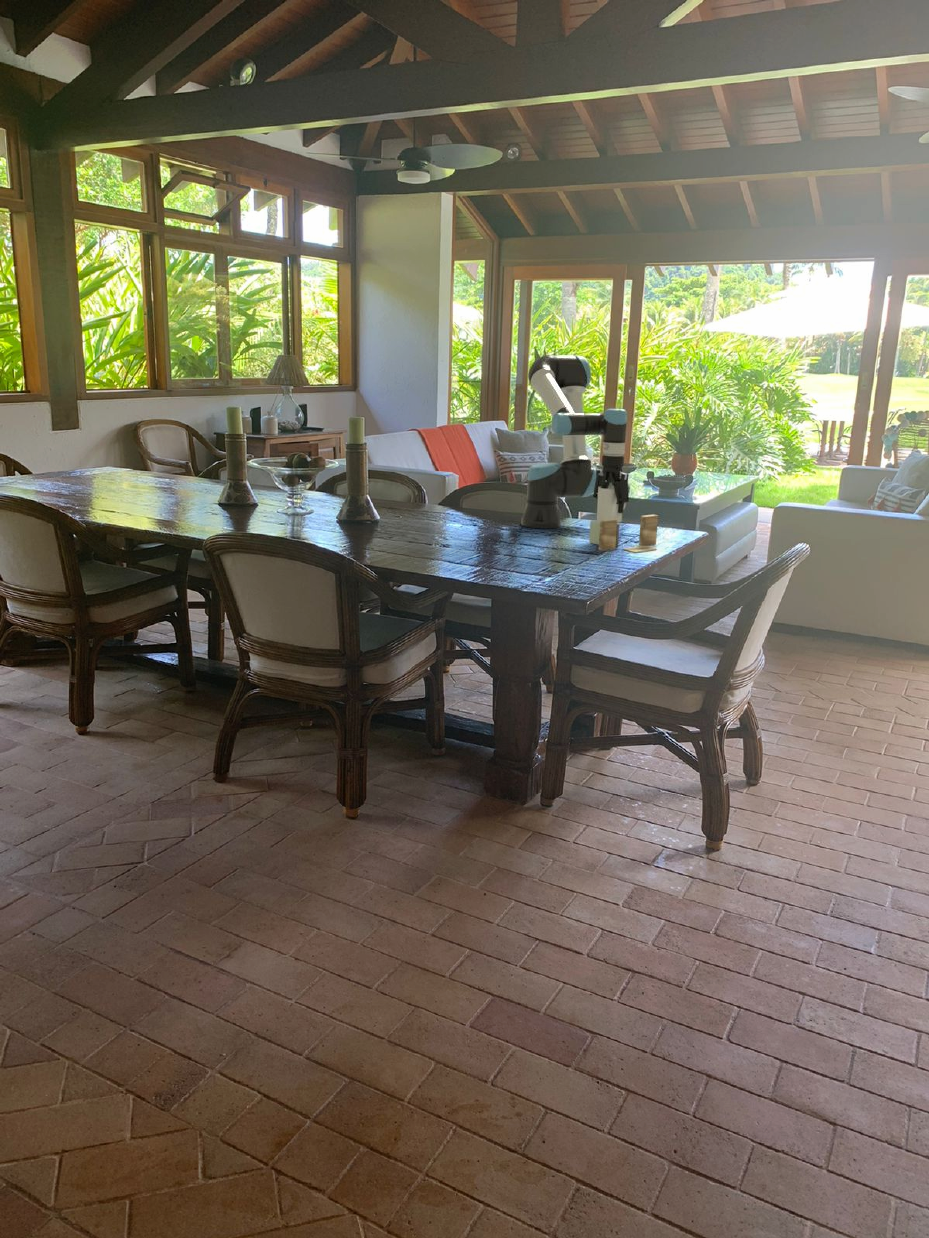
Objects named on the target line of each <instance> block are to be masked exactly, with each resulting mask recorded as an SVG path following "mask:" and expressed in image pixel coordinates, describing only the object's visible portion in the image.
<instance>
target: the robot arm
mask: <svg viewBox="0 0 929 1238" xmlns="http://www.w3.org/2000/svg"><path fill="white" fill-rule="evenodd" d="M591 377H592V372H591V366H590V363H589V360H588V359H587V358H586V357H584V356H582V355H575V354H572V355H569V354H566V355H564V354H563V355H561V354H560V355H559V354H554V355H553V354H546V355H541V356H539V357H538V358H536V359H535V360H534V361H532V363H531V365H530V367H529V369H528V374H527V378H528V383H529V385H530V386H531V388H532V389H533V391H535V392H537V394H538V395H539V396H540V398H541V400H542V401H543V403H544V404H545V406H546V408H547V410H548V411H549V413H550V415H551V416H552V417H551V423H550V424H551V431H552V433H553V434H555V435H556V436H559V435H560V436H562V446H563V447H562V448H563V459H562V460H561V462H560V463H558V462H552V461H551V462H541V463H536V464H532V465H531V466H529V468H528V472H527V477H526V480H527V486H526V487H527V488H526V489H527V490H526V506H525V508H524V511H523V515H522V517H521V519H520V520H521V526H522V527H526V528H532V529H542V530H543V529H545V530H547V529H556V528H560V527H561V526H562V519H561V515H560V511H559V507H558V500H559V498H586V497H590V496H593V498H595V499H596V500H597V501H596V502H598V487H600V486H601V488H603V489H607V488H608V486H610V484H611V485H612V487H614V490H615V494H616V498H617V501H616V505H615V520H617V523H622V522H623V521H622V520H623V519H622V518H623V513H624V511H623V509H624V503H626V504H627V503H629V500H630V499H629V495H630V494H629V482H628V481H629V473H627V472H626V473H625V472H623V467H624V465H625V464H624V463H625V456H624V455H625V452H626V451H625V450H626V436H627V435H626V434H627V423H628V417H627V414H628V412H627V410H626V409H623V408H606V409H605V411H604V412H599V411H598V412H595V413H594V412H593V413H592V412H585V411H584V402H583V401H584V399H583V394H584V393H585V392H586V391H587V387H589V385H590V383H591ZM586 436H603V440H602V454H603V455H602V457H601V466H602V467H603V468H602V469H598V468H597V467H596V466H594V465H592V460H591V459H590V458H589V457H588V456H587V444H586V442H587V441H586ZM624 510H625V509H624Z"/></svg>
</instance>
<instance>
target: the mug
mask: <svg viewBox="0 0 929 1238" xmlns="http://www.w3.org/2000/svg"><path fill="white" fill-rule="evenodd" d="M596 502H597V501H596ZM616 503H617V498H616V494H615V490H614V486H610V485H609V486H608V488H607V489H603V488H601V486H600V487H598V502H597V503H596V521H602V520H610V519H613V520H615V505H616ZM626 505H627V502H626V503H624V509H623V512H624V511H625V508H626Z"/></svg>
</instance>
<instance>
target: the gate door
mask: <svg viewBox="0 0 929 1238" xmlns="http://www.w3.org/2000/svg"><path fill="white" fill-rule="evenodd" d="M589 524H590V525H589V536H588V538H589V540H588V543H590V544H595V545H599V535H600V521H597V520H590V523H589ZM619 537H620V524H618V523H617V531H616V546H615V549H619V540H620V539H619Z"/></svg>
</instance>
